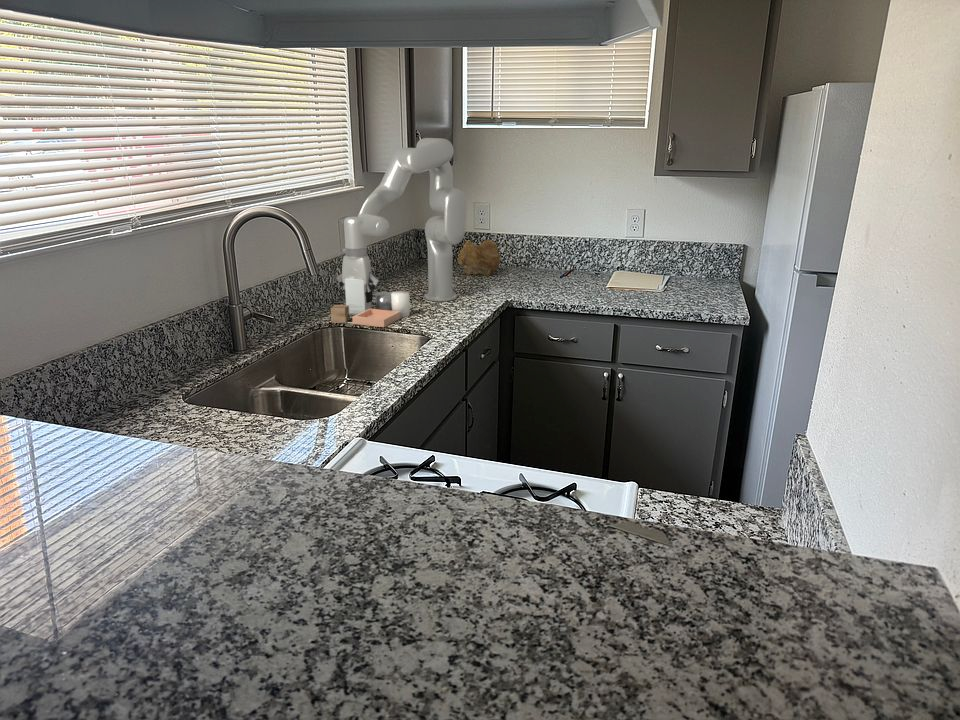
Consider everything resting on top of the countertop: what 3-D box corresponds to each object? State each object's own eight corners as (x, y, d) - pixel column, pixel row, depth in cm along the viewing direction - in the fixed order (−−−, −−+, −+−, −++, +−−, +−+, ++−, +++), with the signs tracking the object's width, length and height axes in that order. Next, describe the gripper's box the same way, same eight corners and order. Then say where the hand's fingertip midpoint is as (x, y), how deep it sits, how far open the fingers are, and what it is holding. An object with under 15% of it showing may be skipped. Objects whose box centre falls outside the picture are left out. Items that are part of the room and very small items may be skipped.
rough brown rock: (480, 282, 305) (483, 248, 300) (452, 273, 314) (454, 241, 309) (512, 275, 322) (515, 243, 317) (484, 267, 332) (487, 236, 327)
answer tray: (370, 315, 248) (369, 308, 247) (400, 318, 244) (400, 311, 243) (352, 323, 237) (352, 316, 236) (384, 327, 233) (383, 320, 232)
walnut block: (335, 318, 243) (334, 304, 242) (349, 319, 243) (348, 305, 241) (331, 322, 239) (330, 308, 237) (345, 323, 238) (344, 308, 237)
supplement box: (365, 314, 248) (363, 280, 244) (345, 313, 249) (343, 279, 245) (372, 309, 255) (371, 275, 251) (353, 308, 256) (351, 274, 252)
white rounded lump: (397, 312, 252) (396, 290, 250) (412, 313, 250) (412, 291, 248) (388, 316, 247) (387, 294, 244) (405, 318, 244) (404, 295, 242)
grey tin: (381, 307, 259) (380, 291, 257) (395, 308, 257) (395, 292, 255) (373, 310, 254) (372, 294, 252) (387, 312, 252) (387, 296, 250)
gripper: (329, 252, 245) (332, 301, 250) (372, 256, 239) (375, 305, 245) (340, 249, 252) (343, 296, 257) (383, 252, 246) (385, 300, 251)
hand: (358, 300), depth 251 cm, fingers closed on supplement box, 8 cm apart
